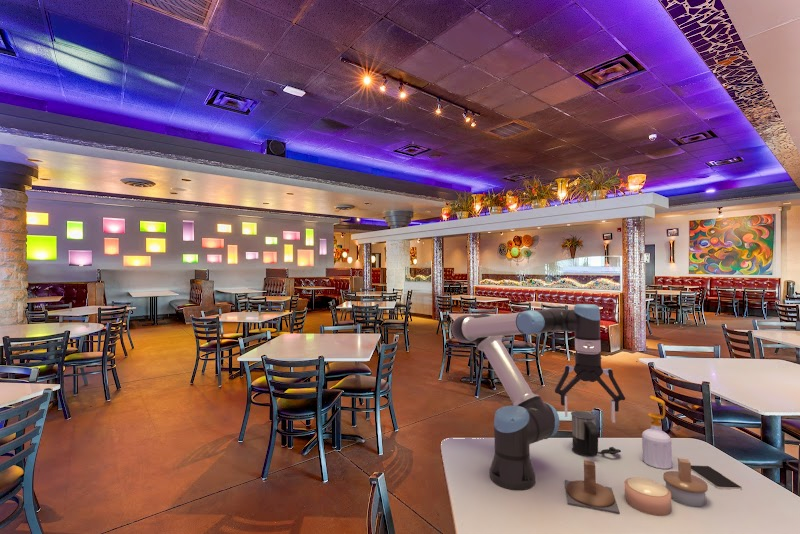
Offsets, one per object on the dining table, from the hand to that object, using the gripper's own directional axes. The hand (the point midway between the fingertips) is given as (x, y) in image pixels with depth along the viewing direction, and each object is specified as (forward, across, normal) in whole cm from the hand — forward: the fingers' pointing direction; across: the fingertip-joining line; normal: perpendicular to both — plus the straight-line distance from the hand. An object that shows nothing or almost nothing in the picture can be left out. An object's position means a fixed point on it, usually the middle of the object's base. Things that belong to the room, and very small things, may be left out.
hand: (589, 418), depth 122 cm
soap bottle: (+24, +25, +32) cm, 47 cm away
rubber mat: (+24, 0, -1) cm, 24 cm away
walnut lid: (+23, 0, -2) cm, 24 cm away
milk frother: (+24, +4, +33) cm, 41 cm away
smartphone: (+25, +40, +28) cm, 55 cm away
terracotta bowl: (+24, +16, +1) cm, 29 cm away
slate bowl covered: (+24, +27, +10) cm, 38 cm away
